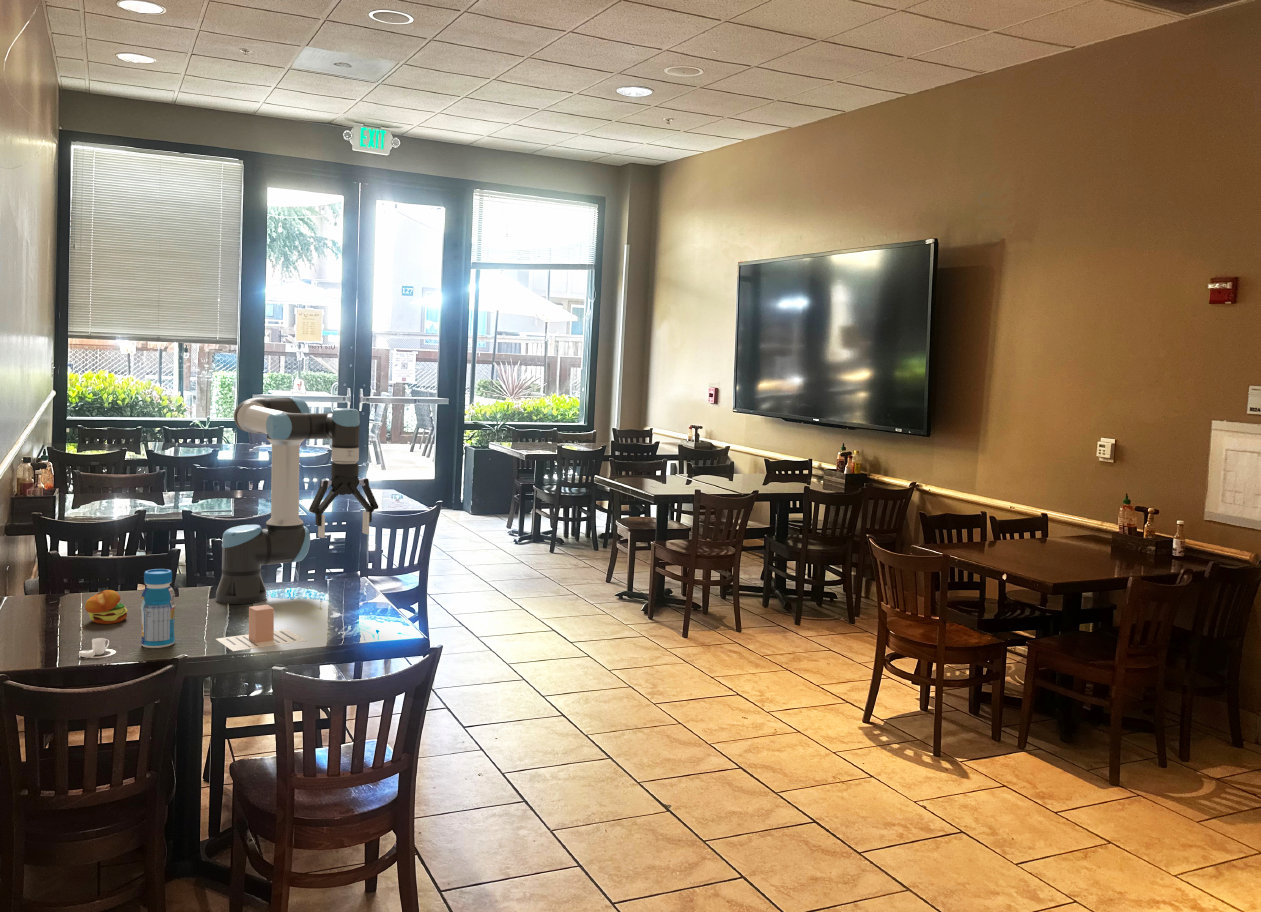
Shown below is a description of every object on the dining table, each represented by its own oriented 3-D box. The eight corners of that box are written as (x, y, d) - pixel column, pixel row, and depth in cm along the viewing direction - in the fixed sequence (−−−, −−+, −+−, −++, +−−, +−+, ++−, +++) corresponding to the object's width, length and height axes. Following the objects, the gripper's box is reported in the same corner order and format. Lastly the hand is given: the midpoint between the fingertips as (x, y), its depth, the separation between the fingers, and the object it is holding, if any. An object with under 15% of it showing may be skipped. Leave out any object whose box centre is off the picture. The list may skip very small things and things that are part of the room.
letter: (215, 639, 279) (215, 638, 279) (286, 630, 292) (286, 628, 292) (233, 652, 268) (233, 651, 268) (306, 641, 281) (306, 640, 281)
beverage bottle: (152, 650, 266) (153, 575, 265) (133, 645, 271) (133, 571, 269) (181, 644, 274) (182, 571, 272) (162, 638, 278) (163, 566, 276)
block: (248, 638, 280) (249, 606, 280) (266, 636, 284) (267, 604, 283) (255, 643, 277) (255, 610, 276) (273, 640, 280) (273, 608, 279)
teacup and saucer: (80, 661, 256) (80, 645, 256) (75, 653, 263) (75, 638, 262) (118, 657, 261) (118, 641, 261) (113, 649, 268) (113, 634, 267)
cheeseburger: (138, 618, 297) (131, 587, 294) (106, 635, 288) (99, 603, 285) (114, 613, 301) (107, 582, 298) (82, 629, 292) (74, 597, 289)
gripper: (308, 464, 281) (307, 540, 283) (390, 462, 297) (389, 534, 299) (297, 462, 286) (296, 536, 288) (378, 459, 303) (377, 530, 305)
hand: (343, 535), depth 294 cm, fingers open, 13 cm apart
